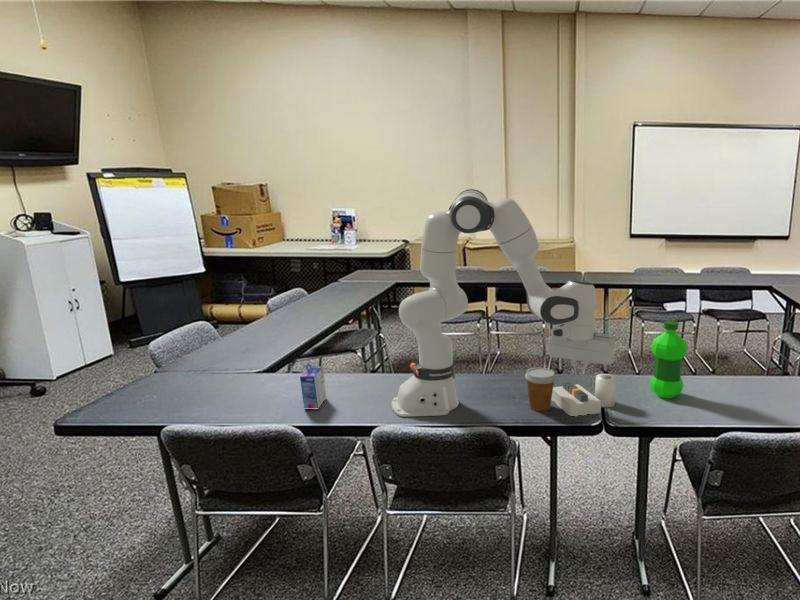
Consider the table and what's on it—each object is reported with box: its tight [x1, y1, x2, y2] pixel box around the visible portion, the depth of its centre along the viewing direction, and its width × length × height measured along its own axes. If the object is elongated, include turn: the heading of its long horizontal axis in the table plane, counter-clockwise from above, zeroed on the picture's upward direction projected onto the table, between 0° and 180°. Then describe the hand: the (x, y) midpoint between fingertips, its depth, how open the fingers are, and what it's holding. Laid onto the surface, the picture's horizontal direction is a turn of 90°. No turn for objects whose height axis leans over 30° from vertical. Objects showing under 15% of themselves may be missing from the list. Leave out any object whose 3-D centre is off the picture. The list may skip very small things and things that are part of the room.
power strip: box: [551, 380, 602, 417], centre depth 170 cm, size 10×22×6 cm, turn 10°
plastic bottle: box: [649, 320, 689, 400], centre depth 168 cm, size 10×10×25 cm
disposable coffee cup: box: [524, 367, 557, 412], centre depth 165 cm, size 10×10×12 cm
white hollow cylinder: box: [594, 373, 617, 408], centre depth 166 cm, size 6×6×9 cm
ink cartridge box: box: [299, 362, 327, 409], centre depth 176 cm, size 10×6×14 cm, turn 172°
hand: (579, 373), depth 164 cm, fingers closed
